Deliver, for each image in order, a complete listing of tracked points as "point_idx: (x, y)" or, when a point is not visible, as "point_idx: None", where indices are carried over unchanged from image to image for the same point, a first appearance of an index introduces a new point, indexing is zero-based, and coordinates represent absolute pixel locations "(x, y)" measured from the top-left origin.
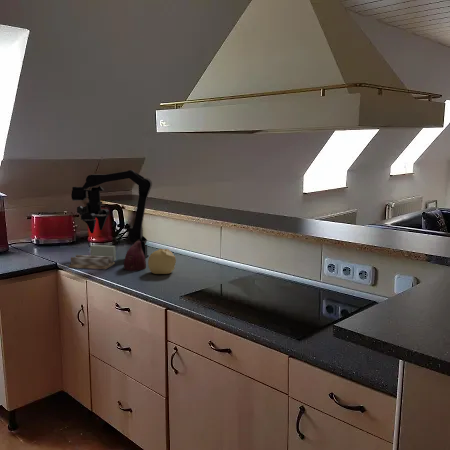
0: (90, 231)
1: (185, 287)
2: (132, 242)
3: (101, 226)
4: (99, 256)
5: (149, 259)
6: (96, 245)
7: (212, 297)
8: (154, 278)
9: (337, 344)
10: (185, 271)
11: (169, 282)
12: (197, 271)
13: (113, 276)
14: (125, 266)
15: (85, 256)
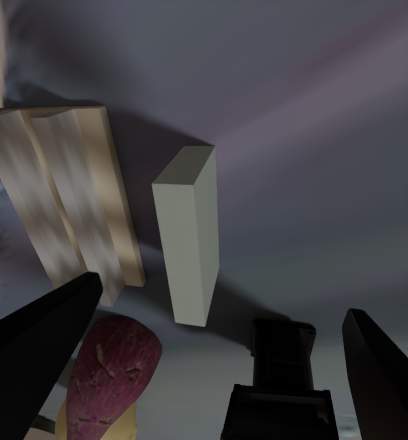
0: (66, 287)
1: (49, 408)
2: (230, 404)
3: (356, 382)
4: (85, 258)
5: (61, 414)
6: (183, 222)
7: (33, 425)
8: (65, 376)
9: None
10: (146, 417)
11: (58, 394)
12: (156, 430)
13: (21, 307)
14: (90, 331)
15: (59, 184)
